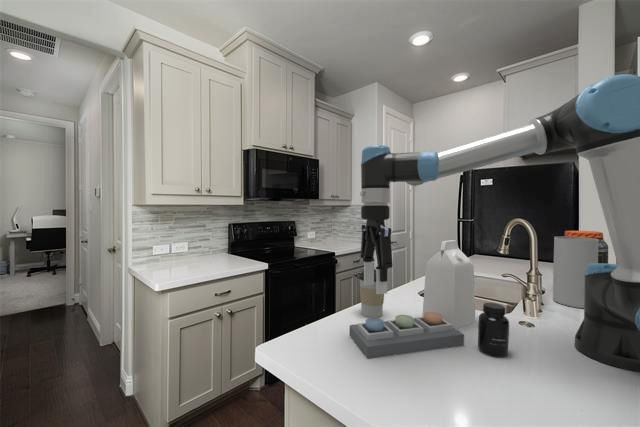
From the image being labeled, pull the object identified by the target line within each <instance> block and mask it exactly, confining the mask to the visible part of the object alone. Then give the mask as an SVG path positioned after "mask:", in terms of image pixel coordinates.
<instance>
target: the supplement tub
mask: <svg viewBox="0 0 640 427" xmlns="http://www.w3.org/2000/svg"><path fill="white" fill-rule="evenodd" d="M564 236H567V237H585V238H594V239H598V263H605V264H609V245H608V243H607V242H606V241H605V239H604V233H603V232H601V231H593V230H565V231H564Z"/></svg>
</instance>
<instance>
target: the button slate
mask: <svg viewBox="0 0 640 427" xmlns="http://www.w3.org/2000/svg"><path fill="white" fill-rule="evenodd" d="M365 323H366V328H367V329H368V330H371V331H382V330H384V319H381V318H380V317H378V318H369V317H367V318H366V320H365Z"/></svg>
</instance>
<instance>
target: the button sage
mask: <svg viewBox="0 0 640 427" xmlns="http://www.w3.org/2000/svg"><path fill="white" fill-rule="evenodd" d="M414 318H415V317H413V316H412V315H408V314H398V315H395V319H394V320H395V323H396V325H398V326H400V327H404V328H410V327H413V326H414Z"/></svg>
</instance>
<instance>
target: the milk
mask: <svg viewBox="0 0 640 427" xmlns="http://www.w3.org/2000/svg"><path fill="white" fill-rule="evenodd" d="M474 269H475V268H474V264H473V262H472V260H471V259H470V258H469V257H468V256H467V255H466V254H465V253H464V251H462V250H461V249H460V248H459V245H458V242H457V240H456V239H454V240H452V239H451V240H442V241H441V246H440V250H439V251H437V252H436V253H435V254H434V255H433V256H432V257H430V258H429V259H428V260H427V262H426V263H425V274H424V288H423V302H422V303H423V304H422V315H421V317H424V313H426V312H435V313H438V314H441V315H442V319H443V320H445V321H447V322H448V323H450V324H452V327H453V328H455V329H456V330H458V329H459V328H461V327H463V326H466V325H469V324H471V323H473V322H476V319H477V318H476V299H475V298H476V295H475V294H476V292H475V291H476V290H475V270H474Z"/></svg>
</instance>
